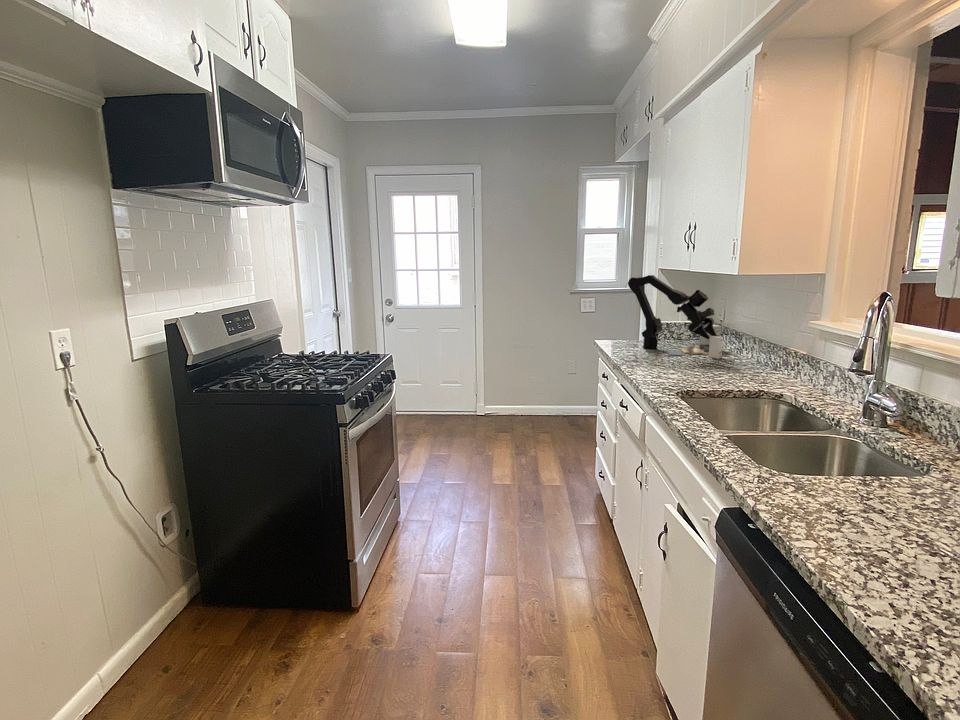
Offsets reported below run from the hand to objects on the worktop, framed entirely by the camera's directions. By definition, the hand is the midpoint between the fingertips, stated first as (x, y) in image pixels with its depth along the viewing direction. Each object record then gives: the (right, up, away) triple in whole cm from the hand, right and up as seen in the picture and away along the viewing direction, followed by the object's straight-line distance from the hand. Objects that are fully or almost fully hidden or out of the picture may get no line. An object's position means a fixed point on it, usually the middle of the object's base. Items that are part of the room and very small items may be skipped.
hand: (712, 337), depth 254 cm
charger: (+1, -9, +1) cm, 10 cm away
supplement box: (+8, -5, +23) cm, 25 cm away
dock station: (-1, -7, +13) cm, 15 cm away
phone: (-16, -8, +8) cm, 20 cm away
